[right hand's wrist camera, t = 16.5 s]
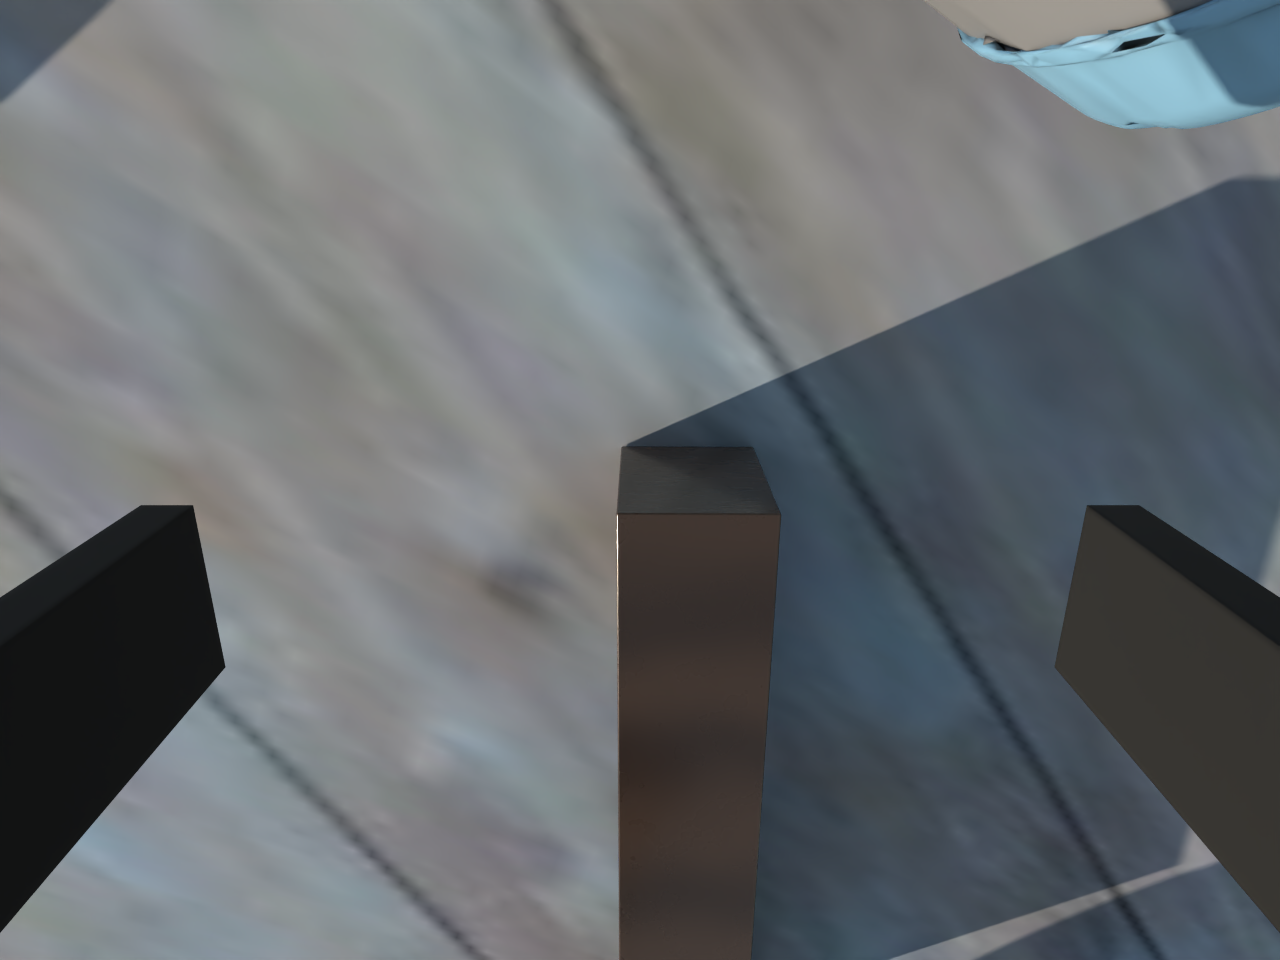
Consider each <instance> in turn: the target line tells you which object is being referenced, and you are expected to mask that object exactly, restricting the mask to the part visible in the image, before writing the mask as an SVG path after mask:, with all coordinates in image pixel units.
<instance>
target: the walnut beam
mask: <svg viewBox="0 0 1280 960" xmlns="http://www.w3.org/2000/svg"><path fill="white" fill-rule="evenodd" d="M780 524H781V513H780V511H779V509H778V506H777V504H776V501H775V499H774V497H773V494H772V492H771V489H770V487H769V485H768V482H767V480H766V477H765V475H764V473H763V470H762V468H761V465H760V463H759V460H758V458H757V456H756V453H755V451H754V448H753V447H622V448H621V461H620V474H619V488H618V502H617V665H618V825H619V960H751V953H752V938H753V923H754V908H755V894H756V879H757V864H758V849H759V834H760V820H761V805H762V790H763V775H764V761H765V746H766V731H767V716H768V702H769V687H770V672H771V657H772V642H773V628H774V613H775V598H776V583H777V569H778V554H779V539H780Z"/></svg>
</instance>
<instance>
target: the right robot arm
mask: <svg viewBox="0 0 1280 960" xmlns="http://www.w3.org/2000/svg"><path fill="white" fill-rule="evenodd" d="M923 1H925V2H926V3H927V4H929V5H930V6H931V7H932V8H934V9H935V10H936V11H937V12H939V13H940V14H941V15H942V16H944V17H945V18H946V19H947V20H949V21H950V22H951V23H952V24H954V25H955V26H956V27H957V29H958V32H959V35H960V38H961V41H962V42H963V43H965V44H966V45H967V46H968V47H970V48H971V49H972V50H973V51H975V52H976V53H977V54H979V55H980V56H982V57H985V58H987V59H989V60H992V61H994V62H997V63H1003V64H1009V65H1013V66H1015V67H1016V68H1018V69H1019V70H1021V71H1022V72H1023V73H1025V74H1026V75H1028V76H1029V77H1031V78H1032V79H1034V80H1035V81H1036V82H1038V83H1039V84H1041V85H1042V86H1044V87H1045V88H1047V89H1048V90H1049V91H1051V92H1052V93H1054V94H1055V95H1057V96H1058V97H1060V98H1061V99H1063V100H1064V101H1065V102H1067V103H1068V104H1070V105H1071V106H1073V107H1074V108H1076V109H1077V110H1079V111H1080V112H1082V113H1083V114H1085V115H1087V116H1089V117H1091V118H1093V119H1095V120H1098V121H1100V122H1103V123H1106V124H1109V125H1113V126H1116V127H1120V128H1126V129H1138V128H1150V127H1157V126H1158V127H1162V128H1170V127H1172V128H1179V129H1188V128H1198V127H1204V126H1209V125H1214V124H1219V123H1223V122H1227V121H1231V120H1235V119H1239V118H1242V117H1246V116H1250V115H1254V114H1257V113H1260V112H1263V111H1267V110H1270V109H1273V108H1276V107H1279V106H1280V0H923ZM224 668H225V663H224V658H223V653H222V648H221V643H220V638H219V633H218V628H217V623H216V618H215V613H214V608H213V603H212V598H211V593H210V588H209V583H208V578H207V573H206V568H205V563H204V558H203V553H202V548H201V543H200V538H199V533H198V528H197V523H196V518H195V513H194V508H193V505H141V506H139V507H138V508H136V509H135V510H133V511H131V512H130V513H128V514H127V515H125V516H124V517H122V518H121V519H119V520H118V521H116V522H115V523H113V524H112V525H110V526H109V527H107V528H106V529H104V530H103V531H101V532H99V533H98V534H96V535H95V536H93V537H92V538H90V539H89V540H87V541H86V542H84V543H83V544H81V545H80V546H78V547H77V548H75V549H74V550H72V551H70V552H69V553H67V554H66V555H64V556H63V557H61V558H60V559H58V560H57V561H55V562H54V563H52V564H51V565H49V566H48V567H46V568H45V569H43V570H42V571H40V572H38V573H37V574H35V575H34V576H32V577H31V578H29V579H28V580H26V581H25V582H23V583H22V584H20V585H19V586H17V587H16V588H14V589H13V590H11V591H9V592H8V593H6V594H5V595H3V596H2V597H0V932H1V931H2V930H3V929H4V928H5V926H6V925H7V924H8V923H9V922H10V921H11V919H12V918H13V917H14V916H15V915H16V914H17V912H18V911H19V910H20V909H21V908H22V906H23V905H24V904H25V903H26V902H27V901H28V899H29V898H30V897H31V896H32V895H33V893H34V892H35V891H36V890H37V889H38V888H39V886H40V885H41V884H42V883H43V882H44V880H45V879H46V878H47V877H48V876H49V875H50V873H51V872H52V871H53V870H54V869H55V868H56V866H57V865H58V864H59V863H60V862H61V860H62V859H63V858H64V857H65V856H66V855H67V853H68V852H69V851H70V850H71V849H72V847H73V846H74V845H75V844H76V843H77V842H78V840H79V839H80V838H81V837H82V836H83V834H84V833H85V832H86V831H87V830H88V829H89V827H90V826H91V825H92V824H93V823H94V822H95V820H96V819H97V818H98V817H99V816H100V814H101V813H102V812H103V811H104V810H105V809H106V807H107V806H108V805H109V804H110V803H111V801H112V800H113V799H114V798H115V797H116V796H117V794H118V793H119V792H120V791H121V790H122V788H123V787H124V786H125V785H126V784H127V783H128V781H129V780H130V779H131V778H132V777H133V776H134V774H135V773H136V772H137V771H138V770H139V768H140V767H141V766H142V765H143V764H144V763H145V761H146V760H147V759H148V758H149V757H150V755H151V754H152V753H153V752H154V751H155V750H156V748H157V747H158V746H159V745H160V744H161V742H162V741H163V740H164V739H165V738H166V737H167V735H168V734H169V733H170V732H171V731H172V730H173V728H174V727H175V726H176V725H177V724H178V722H179V721H180V720H181V719H182V718H183V717H184V715H185V714H186V713H187V712H188V711H189V709H190V708H191V707H192V706H193V705H194V704H195V702H196V701H197V700H198V699H199V698H200V696H201V695H202V694H203V693H204V692H205V691H206V689H207V688H208V687H209V686H210V685H211V683H212V682H213V681H214V680H215V679H216V678H217V676H218V675H219V674H220V673H221V672H222V671H223V669H224ZM1055 668H1056V669H1057V671H1058V672H1059V673H1060V674H1061V675H1062V676H1063V678H1064V679H1065V680H1066V681H1067V682H1068V683H1069V685H1070V686H1071V687H1072V688H1073V689H1074V691H1075V692H1076V693H1077V694H1078V695H1079V696H1080V698H1081V699H1082V700H1083V701H1084V702H1085V704H1086V705H1087V706H1088V707H1089V708H1090V709H1091V711H1092V712H1093V713H1094V714H1095V715H1096V717H1097V718H1098V719H1099V720H1100V721H1101V722H1102V724H1103V725H1104V726H1105V727H1106V728H1107V730H1108V731H1109V732H1110V733H1111V734H1112V735H1113V737H1114V738H1115V739H1116V740H1117V741H1118V742H1119V744H1120V745H1121V746H1122V747H1123V748H1124V750H1125V751H1126V752H1127V753H1128V754H1129V755H1130V757H1131V758H1132V759H1133V760H1134V761H1135V763H1136V764H1137V765H1138V766H1139V767H1140V768H1141V770H1142V771H1143V772H1144V773H1145V774H1146V776H1147V777H1148V778H1149V779H1150V780H1151V781H1152V783H1153V784H1154V785H1155V786H1156V787H1157V788H1158V790H1159V791H1160V792H1161V793H1162V794H1163V796H1164V797H1165V798H1166V799H1167V800H1168V801H1169V803H1170V804H1171V805H1172V806H1173V807H1174V809H1175V810H1176V811H1177V812H1178V813H1179V814H1180V816H1181V817H1182V818H1183V819H1184V820H1185V822H1186V823H1187V824H1188V825H1189V826H1190V827H1191V829H1192V830H1193V831H1194V832H1195V833H1196V834H1197V836H1198V837H1199V838H1200V839H1201V840H1202V842H1203V843H1204V844H1205V845H1206V846H1207V847H1208V849H1209V850H1210V851H1211V852H1212V853H1213V855H1214V856H1215V857H1216V858H1217V859H1218V860H1219V862H1220V863H1221V864H1222V865H1223V866H1224V868H1225V869H1226V870H1227V871H1228V872H1229V873H1230V875H1231V876H1232V877H1233V878H1234V879H1235V880H1236V882H1237V883H1238V884H1239V885H1240V886H1241V888H1242V889H1243V890H1244V891H1245V892H1246V893H1247V895H1248V896H1249V897H1250V898H1251V899H1252V901H1253V902H1254V903H1255V904H1256V905H1257V906H1258V908H1259V909H1260V910H1261V911H1262V912H1263V914H1264V915H1265V916H1266V917H1267V918H1268V919H1269V921H1270V922H1271V923H1272V924H1273V925H1274V926H1275V928H1276V929H1277V930H1278V931H1279V932H1280V597H1278V596H1277V595H1275V594H1274V593H1272V592H1271V591H1269V590H1267V589H1266V588H1264V587H1263V586H1261V585H1260V584H1258V583H1257V582H1255V581H1254V580H1252V579H1251V578H1249V577H1248V576H1246V575H1245V574H1243V573H1242V572H1240V571H1238V570H1237V569H1235V568H1234V567H1232V566H1231V565H1229V564H1228V563H1226V562H1225V561H1223V560H1222V559H1220V558H1219V557H1217V556H1216V555H1214V554H1213V553H1211V552H1210V551H1208V550H1206V549H1205V548H1203V547H1202V546H1200V545H1199V544H1197V543H1196V542H1194V541H1193V540H1191V539H1190V538H1188V537H1187V536H1185V535H1184V534H1182V533H1181V532H1179V531H1177V530H1176V529H1174V528H1173V527H1171V526H1170V525H1168V524H1167V523H1165V522H1164V521H1162V520H1161V519H1159V518H1158V517H1156V516H1155V515H1153V514H1152V513H1150V512H1149V511H1147V510H1145V509H1144V508H1142V507H1141V506H1139V505H1087V508H1086V513H1085V518H1084V523H1083V528H1082V533H1081V538H1080V543H1079V548H1078V553H1077V558H1076V563H1075V568H1074V573H1073V578H1072V583H1071V588H1070V593H1069V598H1068V603H1067V608H1066V613H1065V618H1064V623H1063V628H1062V633H1061V638H1060V643H1059V648H1058V653H1057V658H1056V663H1055Z"/></svg>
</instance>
